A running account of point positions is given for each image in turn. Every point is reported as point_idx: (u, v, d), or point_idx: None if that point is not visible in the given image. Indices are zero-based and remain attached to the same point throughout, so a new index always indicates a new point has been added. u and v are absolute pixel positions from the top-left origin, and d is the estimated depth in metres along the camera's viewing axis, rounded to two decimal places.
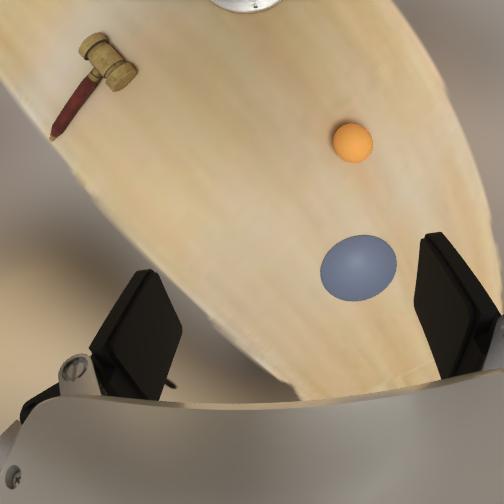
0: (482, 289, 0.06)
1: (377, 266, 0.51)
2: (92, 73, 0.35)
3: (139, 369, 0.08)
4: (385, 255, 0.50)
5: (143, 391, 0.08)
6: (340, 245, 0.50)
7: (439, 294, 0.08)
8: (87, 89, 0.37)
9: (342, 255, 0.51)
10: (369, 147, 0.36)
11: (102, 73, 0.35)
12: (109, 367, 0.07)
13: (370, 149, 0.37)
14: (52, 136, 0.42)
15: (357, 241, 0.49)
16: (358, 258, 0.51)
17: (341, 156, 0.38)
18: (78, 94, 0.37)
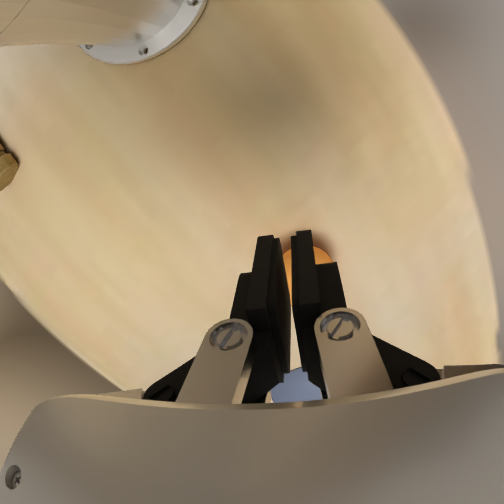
0: (315, 283, 0.08)
1: None
2: None
3: (283, 333, 0.09)
4: None
5: (285, 357, 0.08)
6: (293, 373, 0.38)
7: None
8: None
9: (296, 381, 0.39)
10: None
11: None
12: (263, 331, 0.08)
13: None
14: None
15: None
16: None
17: None
18: None
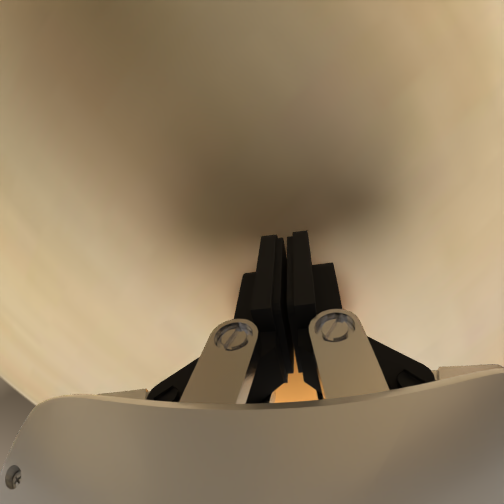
0: (310, 284, 0.08)
1: None
2: None
3: (288, 333, 0.09)
4: None
5: (290, 357, 0.08)
6: None
7: None
8: None
9: None
10: None
11: None
12: (267, 331, 0.08)
13: None
14: None
15: None
16: None
17: None
18: None
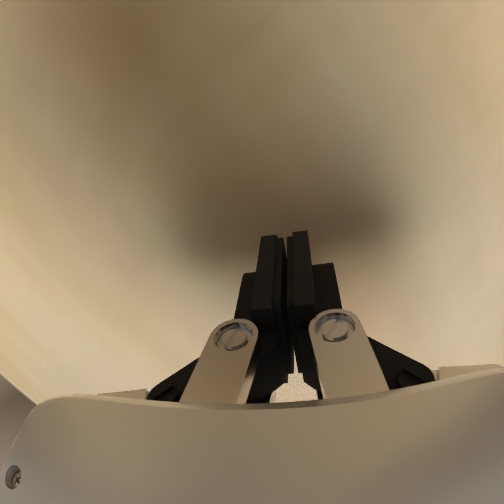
0: (310, 284, 0.08)
1: None
2: None
3: (287, 333, 0.09)
4: None
5: (289, 357, 0.08)
6: None
7: None
8: None
9: None
10: None
11: None
12: (267, 331, 0.08)
13: None
14: None
15: None
16: None
17: None
18: None
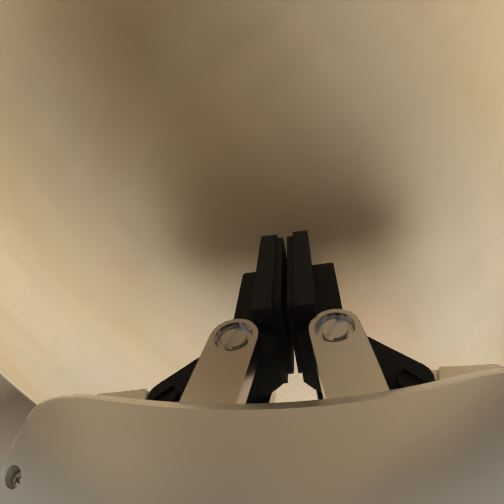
0: (310, 284, 0.08)
1: None
2: None
3: (287, 333, 0.09)
4: None
5: (289, 357, 0.08)
6: None
7: None
8: None
9: None
10: None
11: None
12: (267, 331, 0.08)
13: None
14: None
15: None
16: None
17: None
18: None
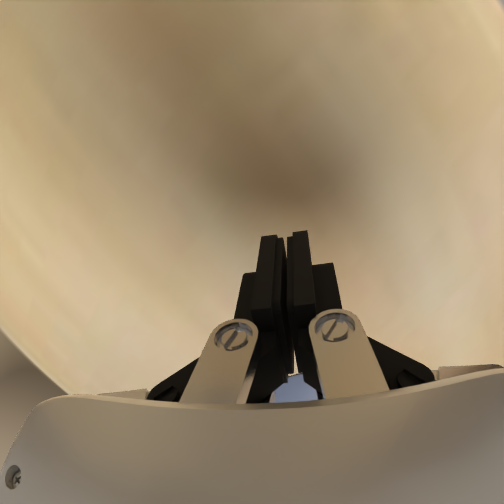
0: (310, 284, 0.08)
1: None
2: None
3: (287, 333, 0.09)
4: None
5: (290, 357, 0.08)
6: (283, 384, 0.25)
7: None
8: None
9: (288, 396, 0.25)
10: None
11: None
12: (267, 331, 0.08)
13: None
14: None
15: None
16: None
17: None
18: None
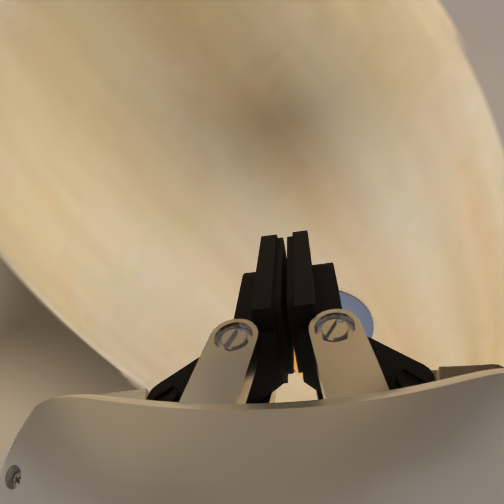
0: (310, 284, 0.08)
1: None
2: None
3: (287, 333, 0.09)
4: None
5: (289, 357, 0.08)
6: None
7: None
8: None
9: None
10: None
11: None
12: (267, 331, 0.08)
13: None
14: None
15: None
16: None
17: None
18: None
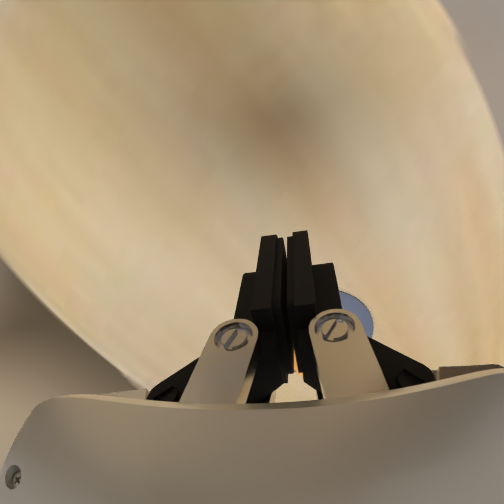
0: (310, 284, 0.08)
1: None
2: None
3: (288, 333, 0.09)
4: None
5: (290, 357, 0.08)
6: None
7: None
8: None
9: None
10: None
11: None
12: (267, 331, 0.08)
13: None
14: None
15: None
16: None
17: None
18: None
